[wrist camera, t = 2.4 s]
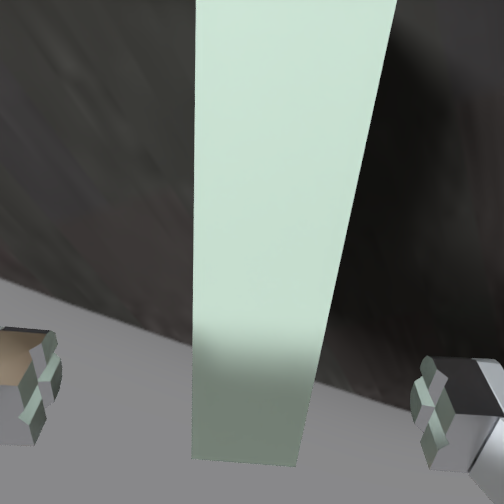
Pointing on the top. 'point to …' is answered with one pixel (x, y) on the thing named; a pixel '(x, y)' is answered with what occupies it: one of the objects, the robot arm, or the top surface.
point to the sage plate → (273, 207)
